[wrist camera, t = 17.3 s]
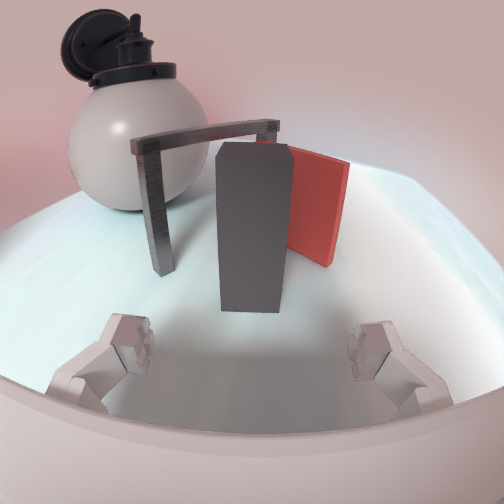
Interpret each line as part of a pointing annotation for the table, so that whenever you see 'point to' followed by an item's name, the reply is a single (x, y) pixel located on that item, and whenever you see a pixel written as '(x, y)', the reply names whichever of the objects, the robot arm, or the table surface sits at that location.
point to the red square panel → (316, 204)
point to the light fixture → (126, 110)
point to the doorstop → (252, 223)
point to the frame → (153, 180)
